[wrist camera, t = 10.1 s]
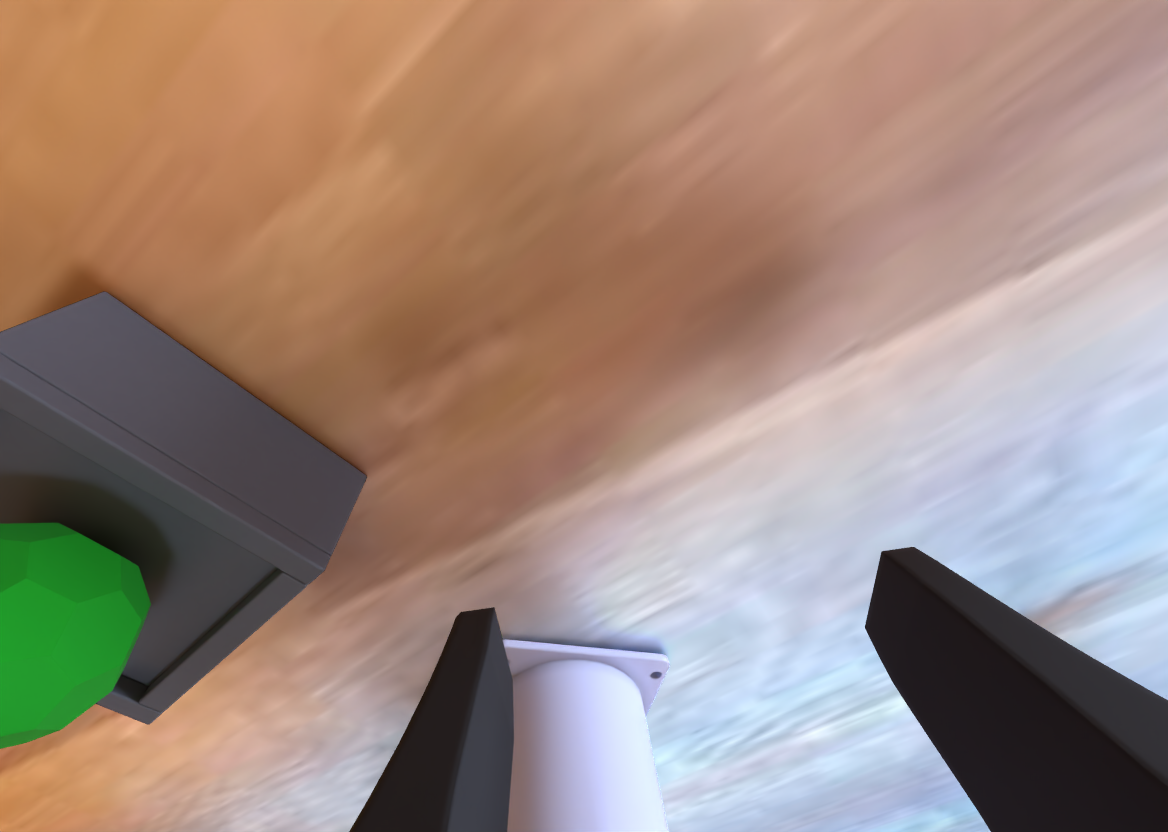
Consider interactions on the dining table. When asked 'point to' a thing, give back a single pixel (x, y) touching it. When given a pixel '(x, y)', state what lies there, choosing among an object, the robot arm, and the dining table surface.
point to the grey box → (165, 484)
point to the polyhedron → (61, 626)
